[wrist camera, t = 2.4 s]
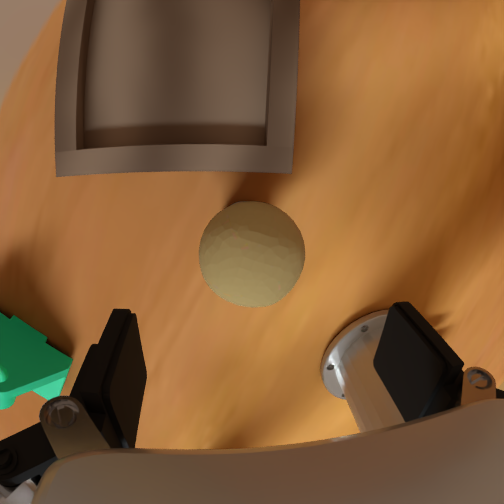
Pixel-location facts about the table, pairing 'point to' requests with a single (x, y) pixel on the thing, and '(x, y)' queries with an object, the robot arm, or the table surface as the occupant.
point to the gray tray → (176, 86)
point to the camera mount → (28, 362)
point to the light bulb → (251, 254)
